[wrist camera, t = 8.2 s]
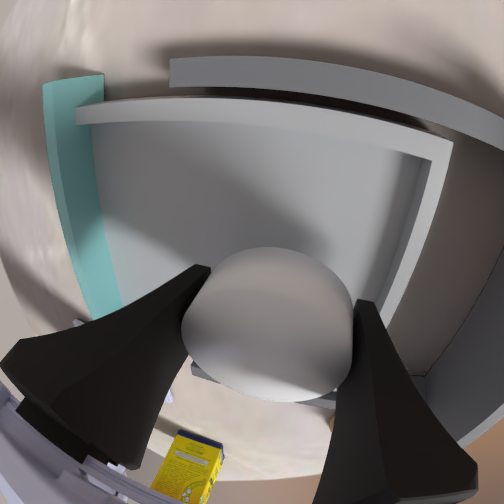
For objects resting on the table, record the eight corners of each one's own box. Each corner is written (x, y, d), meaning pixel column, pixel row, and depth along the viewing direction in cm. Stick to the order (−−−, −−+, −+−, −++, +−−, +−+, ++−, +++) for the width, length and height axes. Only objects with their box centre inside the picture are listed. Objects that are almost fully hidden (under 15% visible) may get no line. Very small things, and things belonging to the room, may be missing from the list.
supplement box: (225, 456, 32) (199, 521, 23) (185, 443, 33) (156, 504, 24) (224, 443, 29) (193, 518, 20) (178, 428, 30) (143, 498, 21)
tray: (130, 320, 19) (106, 351, 17) (92, 76, 10) (42, 84, 8) (343, 378, 16) (339, 422, 14) (439, 97, 8) (477, 102, 5)
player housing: (207, 344, 18) (168, 420, 13) (203, 62, 9) (94, 56, 5) (431, 386, 15) (436, 464, 10) (551, 153, 6) (636, 210, 2)
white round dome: (208, 341, 12) (189, 378, 10) (203, 232, 9) (171, 268, 7) (331, 370, 11) (325, 412, 9) (373, 266, 8) (378, 313, 6)
